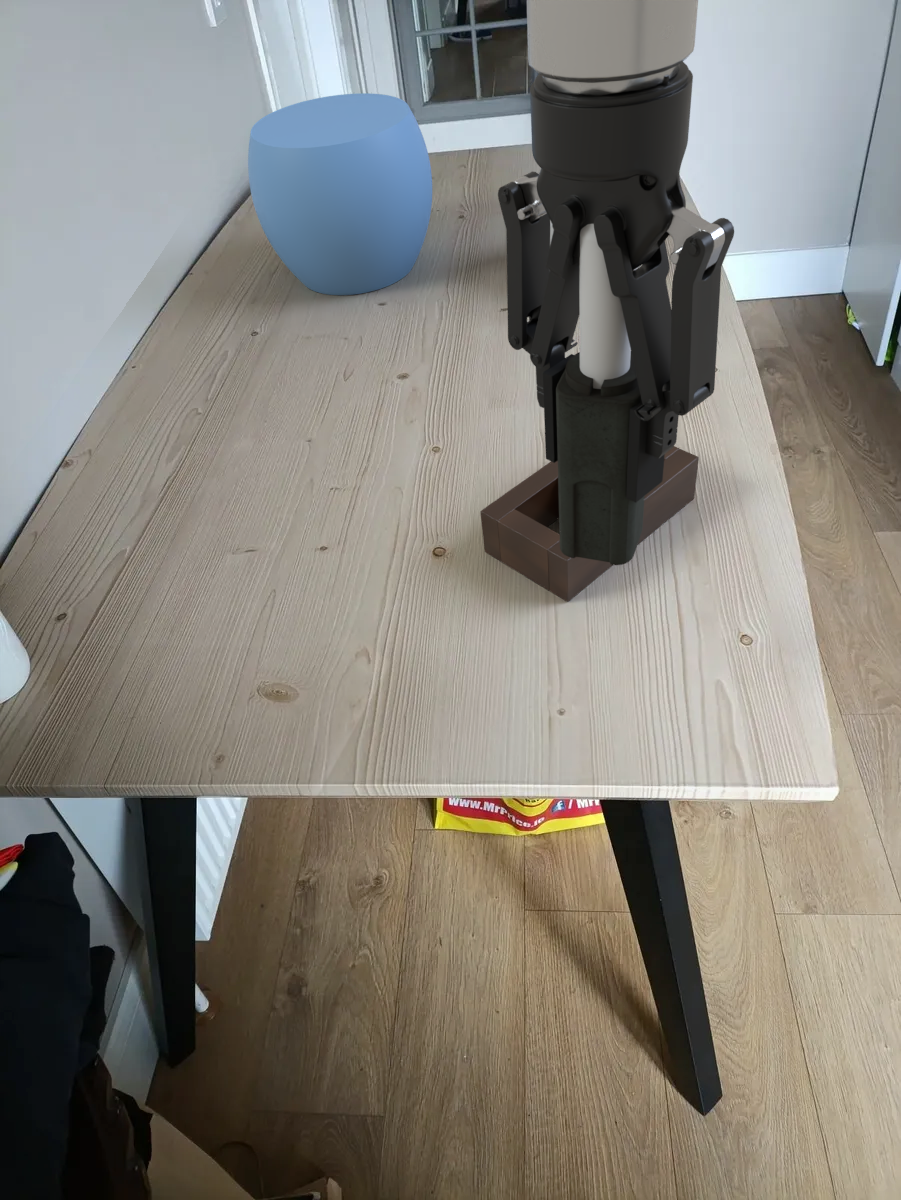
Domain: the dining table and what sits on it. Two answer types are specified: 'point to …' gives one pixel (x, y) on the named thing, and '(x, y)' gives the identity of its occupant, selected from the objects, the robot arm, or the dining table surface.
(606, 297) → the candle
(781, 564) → the dining table surface
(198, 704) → the dining table surface
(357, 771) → the dining table surface
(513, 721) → the dining table surface
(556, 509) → the rack
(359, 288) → the blue rounded stool
